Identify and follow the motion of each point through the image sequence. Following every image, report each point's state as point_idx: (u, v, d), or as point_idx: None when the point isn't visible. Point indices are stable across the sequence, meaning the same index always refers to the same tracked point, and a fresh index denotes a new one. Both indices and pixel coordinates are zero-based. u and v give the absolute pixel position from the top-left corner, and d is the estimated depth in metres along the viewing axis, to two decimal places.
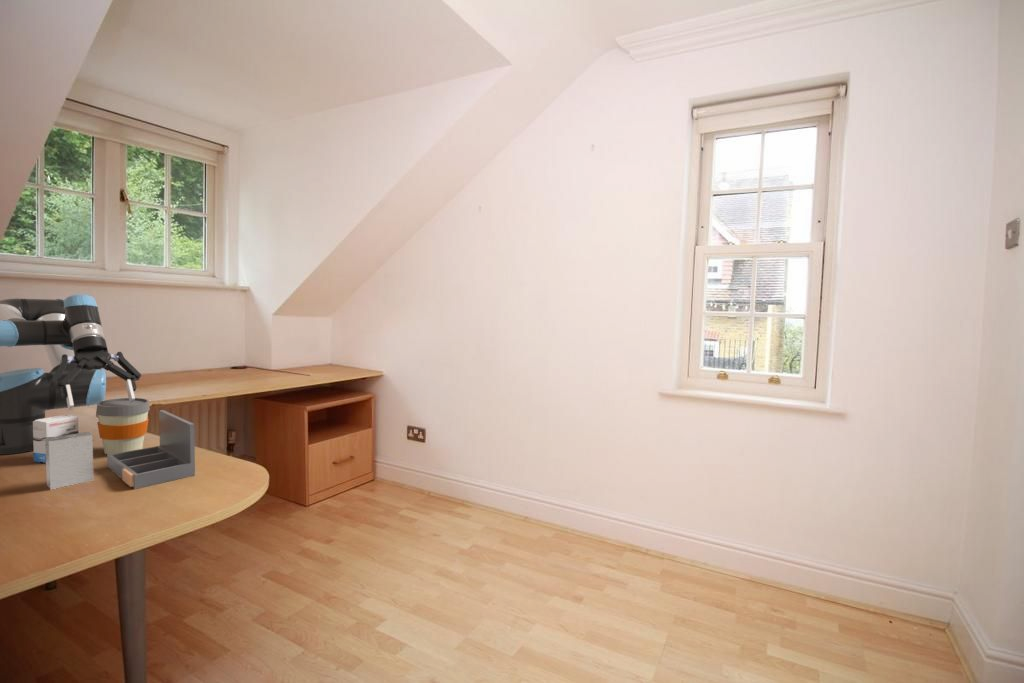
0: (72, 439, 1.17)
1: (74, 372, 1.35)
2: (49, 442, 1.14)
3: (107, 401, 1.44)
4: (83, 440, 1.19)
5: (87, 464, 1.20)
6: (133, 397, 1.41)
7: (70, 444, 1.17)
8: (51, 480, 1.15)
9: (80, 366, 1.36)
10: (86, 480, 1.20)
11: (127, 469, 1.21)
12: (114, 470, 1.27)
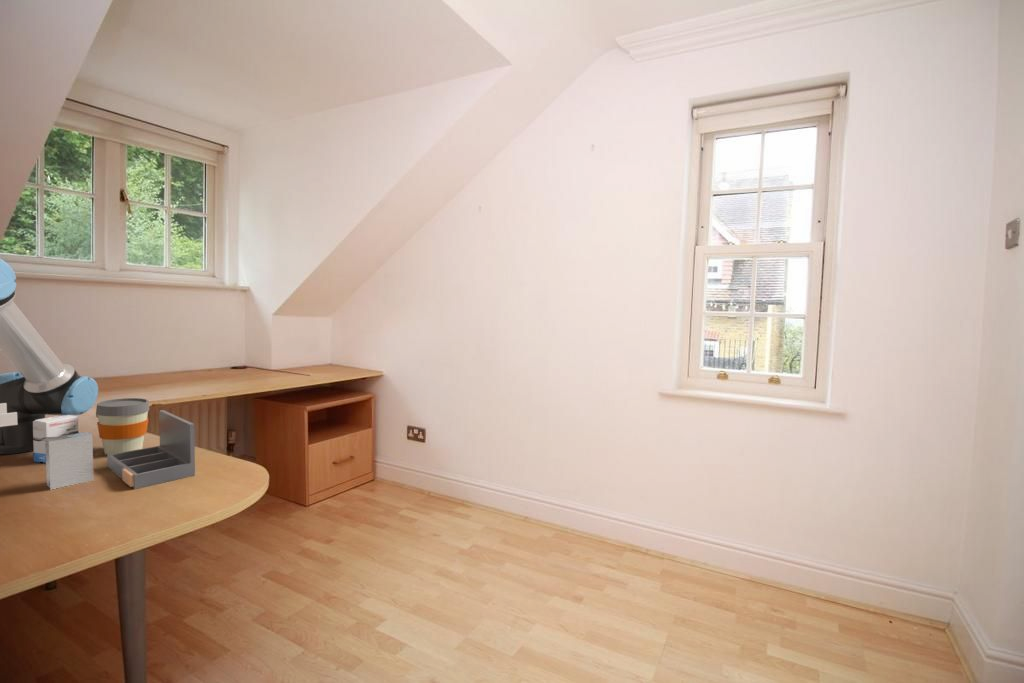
0: (72, 439, 1.17)
1: None
2: (49, 442, 1.14)
3: (107, 401, 1.44)
4: (83, 440, 1.19)
5: (87, 464, 1.20)
6: None
7: (70, 444, 1.17)
8: (51, 480, 1.15)
9: None
10: (86, 480, 1.20)
11: (127, 469, 1.21)
12: (114, 470, 1.27)
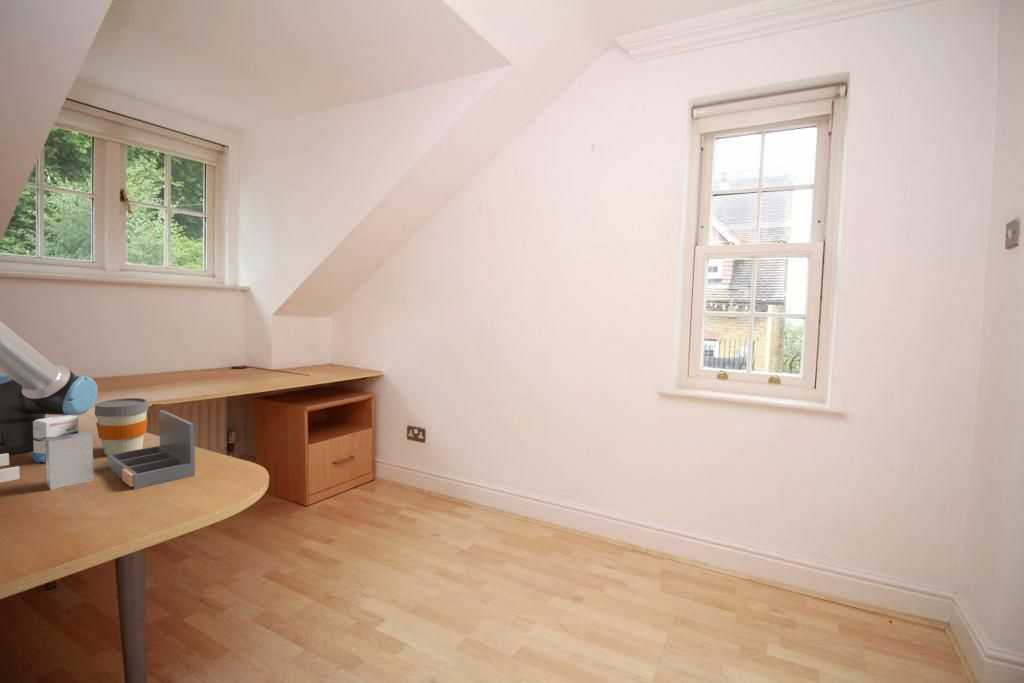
0: (72, 439, 1.17)
1: None
2: (49, 442, 1.14)
3: (105, 402, 1.44)
4: (83, 440, 1.19)
5: (87, 464, 1.20)
6: None
7: (70, 444, 1.17)
8: (51, 480, 1.15)
9: None
10: (86, 480, 1.20)
11: (127, 469, 1.21)
12: (114, 470, 1.27)
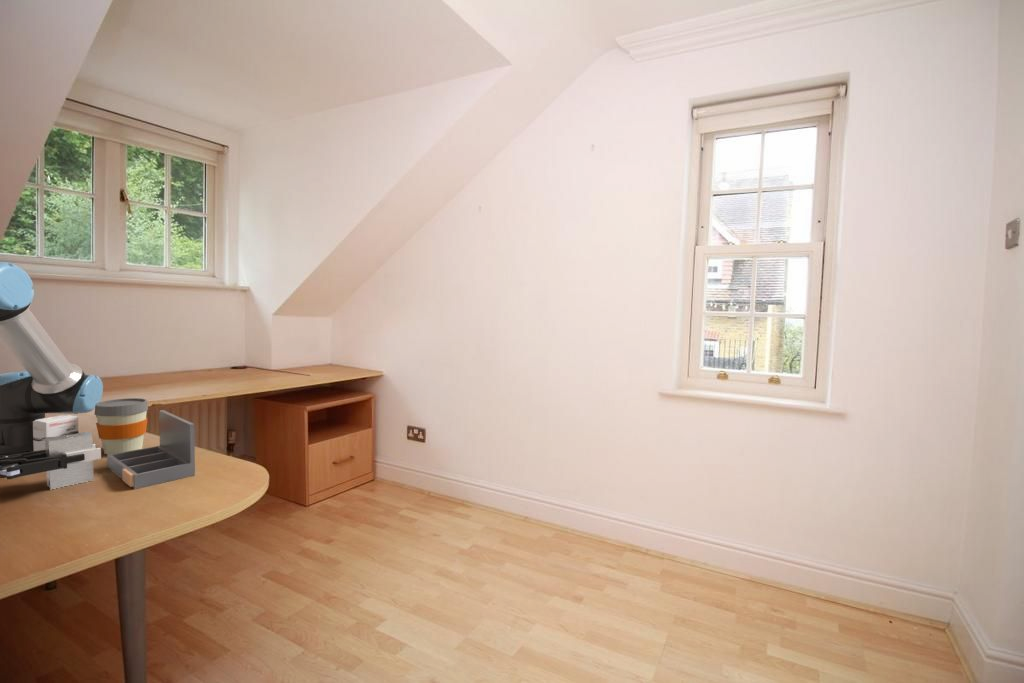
0: (72, 439, 1.17)
1: None
2: (49, 442, 1.14)
3: (105, 402, 1.44)
4: (83, 440, 1.19)
5: (87, 464, 1.20)
6: None
7: (70, 444, 1.17)
8: (51, 480, 1.15)
9: None
10: (86, 480, 1.20)
11: (127, 469, 1.21)
12: (114, 470, 1.27)
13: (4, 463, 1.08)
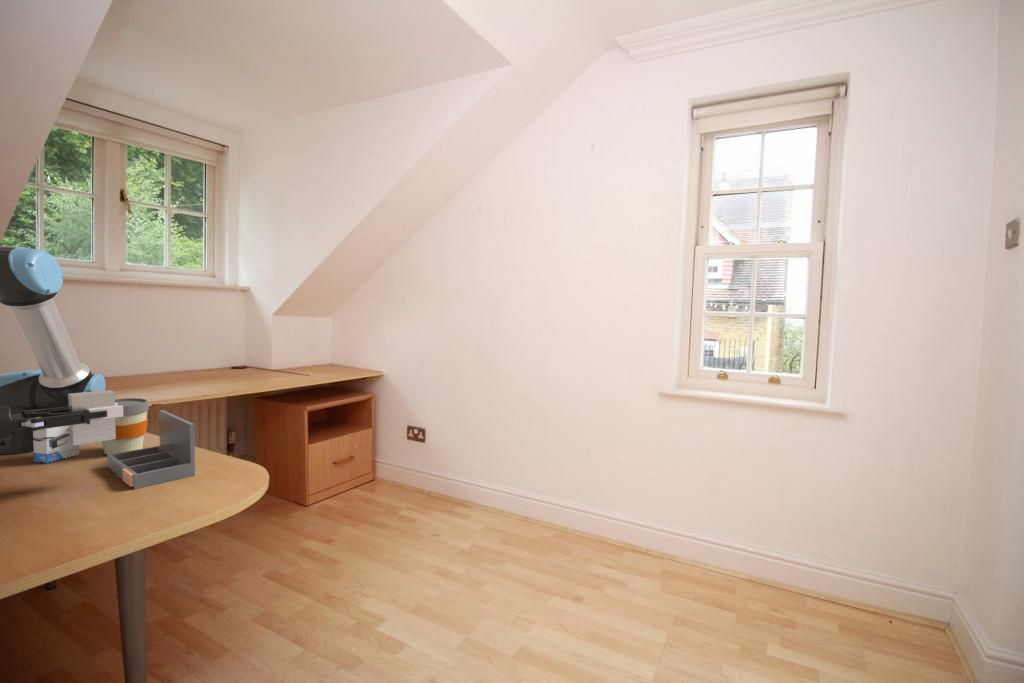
0: (95, 395, 1.17)
1: None
2: (72, 397, 1.14)
3: None
4: (105, 396, 1.18)
5: (109, 421, 1.19)
6: None
7: (92, 400, 1.17)
8: (74, 435, 1.14)
9: None
10: (108, 437, 1.20)
11: (127, 469, 1.21)
12: (114, 470, 1.27)
13: (28, 415, 1.08)
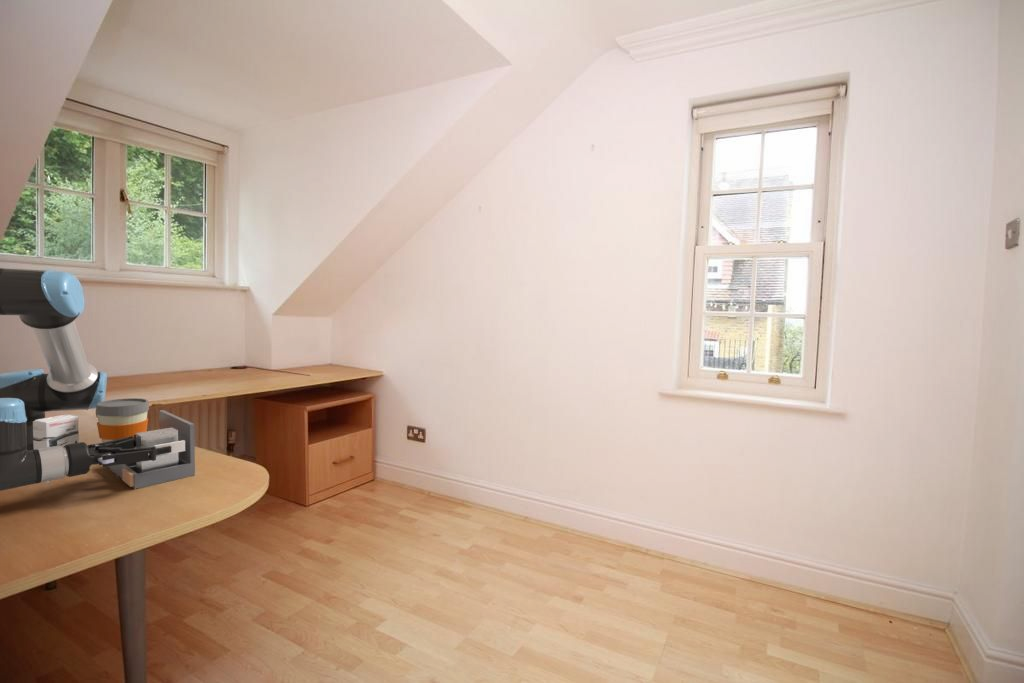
0: (161, 434, 1.23)
1: None
2: (141, 437, 1.20)
3: (106, 402, 1.44)
4: (170, 435, 1.24)
5: (173, 458, 1.25)
6: None
7: (158, 439, 1.22)
8: None
9: None
10: None
11: (127, 469, 1.21)
12: (114, 470, 1.27)
13: (102, 451, 1.13)
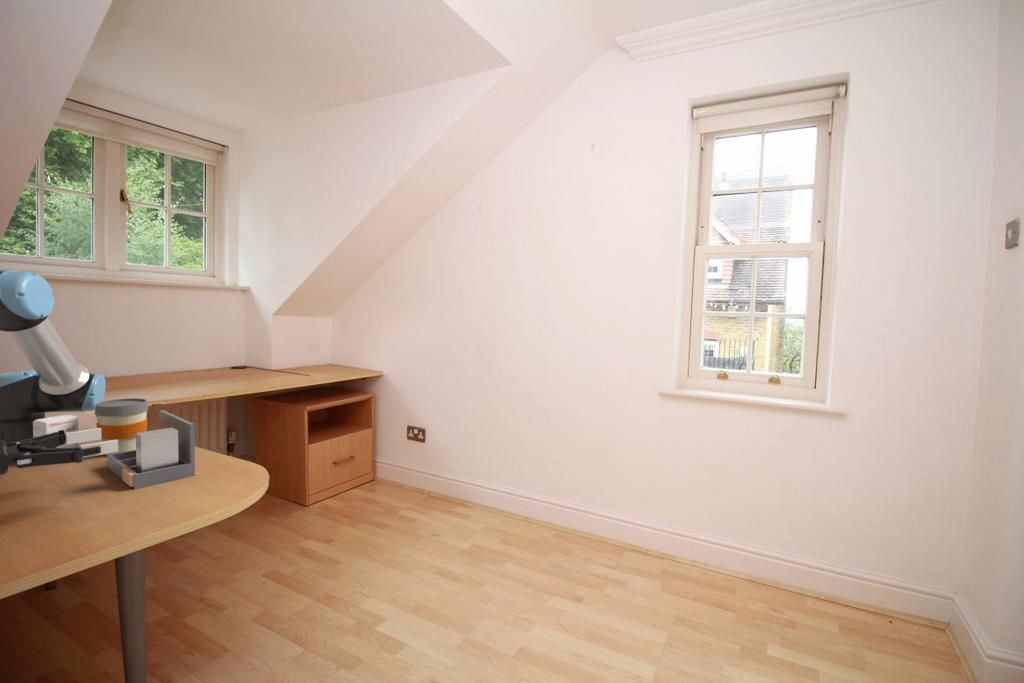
0: (161, 434, 1.23)
1: None
2: (141, 437, 1.20)
3: (105, 402, 1.44)
4: (170, 435, 1.24)
5: (173, 458, 1.25)
6: None
7: (158, 439, 1.22)
8: None
9: None
10: None
11: (127, 469, 1.21)
12: (114, 470, 1.27)
13: (22, 449, 1.02)
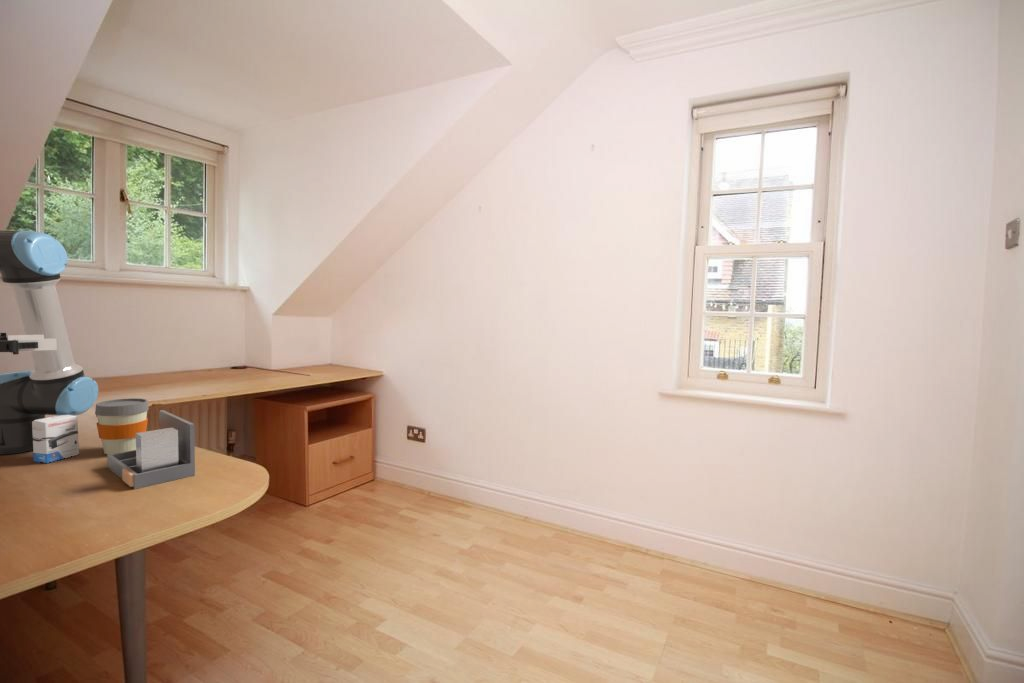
0: (161, 434, 1.23)
1: None
2: (141, 437, 1.20)
3: (105, 402, 1.44)
4: (170, 435, 1.24)
5: (173, 458, 1.25)
6: (54, 349, 1.16)
7: (158, 439, 1.22)
8: None
9: None
10: None
11: (127, 469, 1.21)
12: (114, 470, 1.27)
13: None
